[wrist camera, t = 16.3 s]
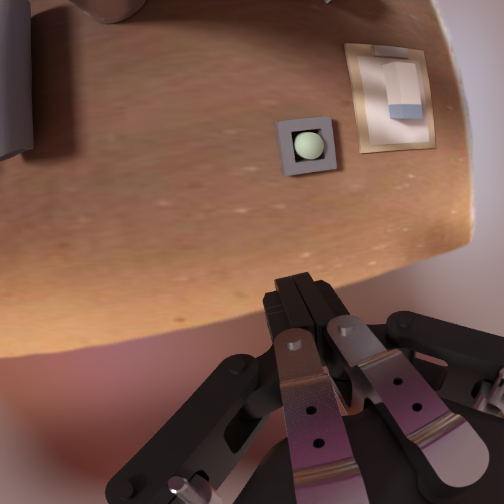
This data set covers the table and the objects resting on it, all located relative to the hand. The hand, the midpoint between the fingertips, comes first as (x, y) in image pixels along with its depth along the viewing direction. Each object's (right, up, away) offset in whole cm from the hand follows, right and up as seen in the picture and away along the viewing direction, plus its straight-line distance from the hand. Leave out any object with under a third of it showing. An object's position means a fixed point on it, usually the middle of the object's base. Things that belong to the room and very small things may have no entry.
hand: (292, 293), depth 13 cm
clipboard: (+19, +24, +23) cm, 38 cm away
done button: (+5, +16, +24) cm, 29 cm away
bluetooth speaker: (-35, +27, +15) cm, 47 cm away
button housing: (+5, +16, +24) cm, 30 cm away
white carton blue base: (+19, +25, +22) cm, 38 cm away
